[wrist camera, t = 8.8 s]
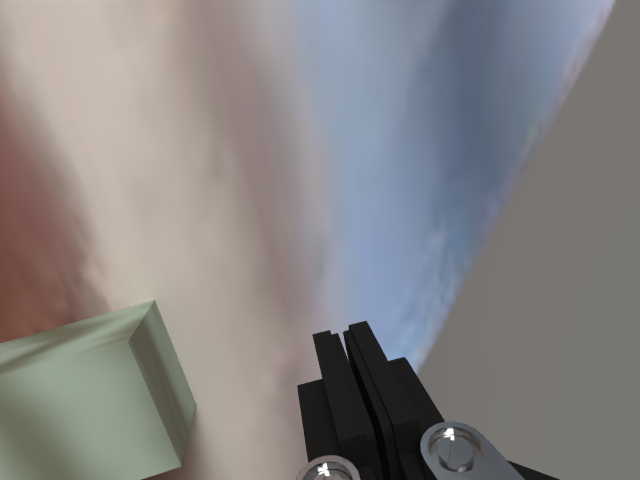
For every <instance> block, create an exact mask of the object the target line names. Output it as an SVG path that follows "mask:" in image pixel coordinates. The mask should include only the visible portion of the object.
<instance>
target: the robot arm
mask: <svg viewBox="0 0 640 480" xmlns="http://www.w3.org/2000/svg"><path fill="white" fill-rule="evenodd" d="M343 335H344V340H345V345H346V350H347V355H348V359H347V356H346V353H345V351H344V348H343V345H342V343H341V340H340V337H339V335H338V333H336V334H332V335H331V332H330V330H328V331H324V332H320V333H317V334H313V339H314V344H315V348H316V352H317V357H318V361H319V365H320V369H321V374H322V378H323V379H320V380H316V381H312V382H309V383H305V384H301V385H298V386H297V387H298V395H299V402H300V409H301V415H302V422H303V429H304V436H305V443H306V450H307V456H308V464H306V465H305V466H304V467H303V469H302V470H301V471H300V472H299V474H298V475H297V477H296V479H295V480H559V479H556V478H554V477H551V476H548V475H546V474H543V473H540V472H538V471H535V470H532V469H529V468H527V467H524V466H521V465H518V464H516V463H513V462H510V461H508V460H506V459H505V458H504V457H503V456H502V455H501V454H500V453H499V452H498V451H497V449H495V447H494V446H493V445H492V444H491V443H490V442H489V441H488V440H487V439H486V438H485V437H484V436H483V435H482V434H481V433H480V432H479V431H477V430H476V429H475V428H473V427H471V426H469V425H467V424H464V423H459V422H445V421H444V419H443V418H442V416H441V414H440V413H439V411H438V410H437V408H436V406H435V405H434V403H433V401H432V400H431V398H430V396H429V395H428V393H427V392H426V390H425V388H424V387H423V385H422V384H421V382H420V380H419V379H418V377H417V375H416V374H415V372H414V371H413V369H412V367H411V366H410V364H409V362H408V361H407V360H406V358H404V357H402V358H398V359H395V360H391V361H388V360H387V358H386V356H385V354H384V353H383V351H382V349H381V347H380V345H379V343H378V341H377V340H376V338H375V336H374V334H373V332H372V330H371V328H370V326H369V325H368V323H367V321H363V322H359V323H356V324H352V325H349V330H348V331H344V332H343ZM348 360H349V361H348Z"/></svg>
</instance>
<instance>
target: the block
mask: <svg viewBox="0 0 640 480" xmlns="http://www.w3.org/2000/svg"><path fill="white" fill-rule="evenodd" d="M195 406H196V403H195V400H194V398H193V395H192V393H191V390H190V388H189V385H188V383H187V380H186V378H185V375H184V373H183V370H182V367H181V365H180V362H179V360H178V357H177V355H176V352H175V350H174V347H173V345H172V342H171V340H170V337H169V335H168V332H167V330H166V327H165V324H164V322H163V319H162V317H161V314H160V312H159V309H158V307H157V304H156V302H155V300H153V301H149V302H146V303H142V304H139V305H135V306H132V307H128V308H124V309H121V310H117V311H114V312H110V313H107V314H103V315H99V316H96V317H92V318H89V319H85V320H82V321H78V322H75V323H71V324H67V325H64V326H60V327H57V328H53V329H50V330H46V331H42V332H39V333H35V334H32V335H28V336H25V337H21V338H18V339H14V340H10V341H7V342H3V343H0V480H141V479H144V478H147V477H150V476H153V475H157V474H160V473H163V472H166V471H169V470H172V469H175V468H178V467H181V466H182V462H183V458H184V453H185V449H186V445H187V440H188V436H189V432H190V427H191V423H192V419H193V414H194V410H195Z"/></svg>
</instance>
